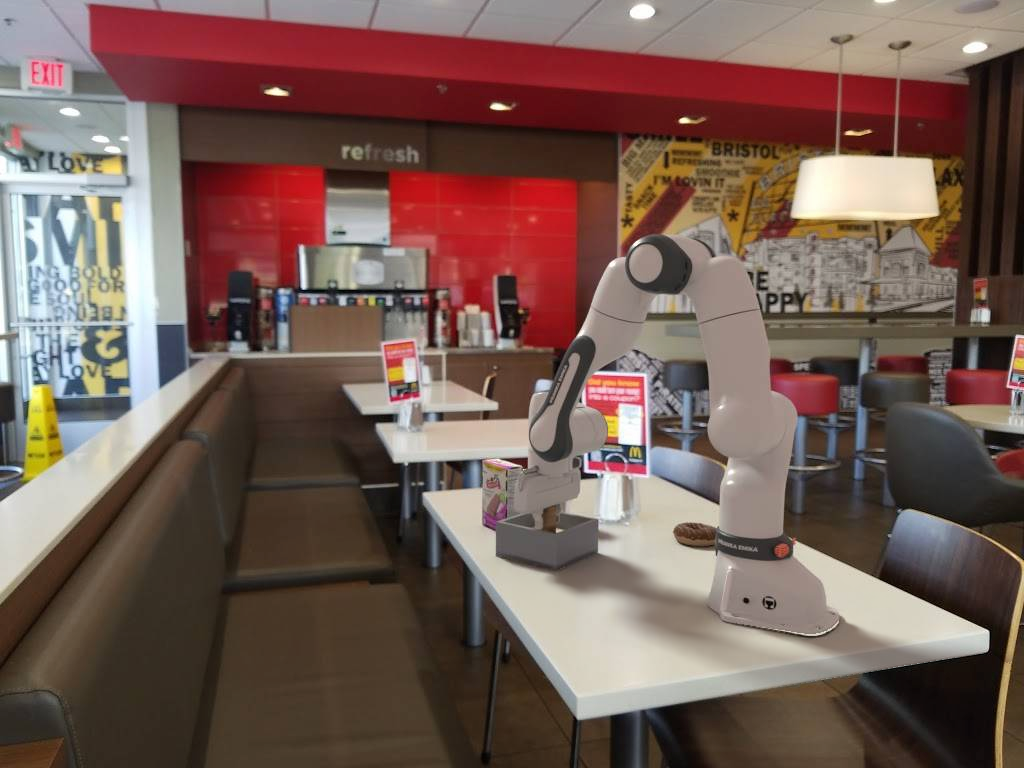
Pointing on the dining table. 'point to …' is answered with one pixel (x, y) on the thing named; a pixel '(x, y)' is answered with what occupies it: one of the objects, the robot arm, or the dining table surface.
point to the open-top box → (547, 540)
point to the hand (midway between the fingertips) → (547, 525)
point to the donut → (695, 534)
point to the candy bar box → (498, 490)
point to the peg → (549, 519)
